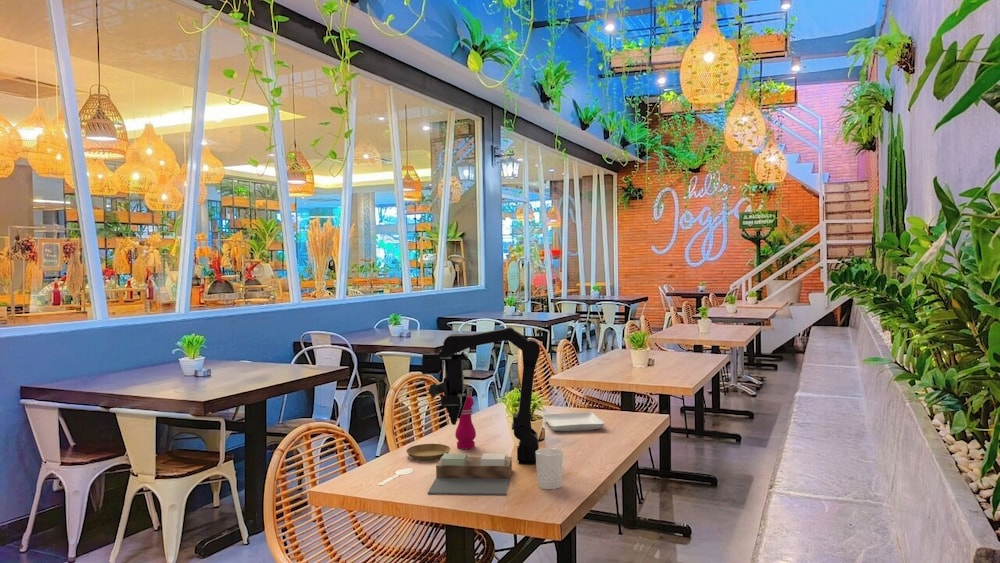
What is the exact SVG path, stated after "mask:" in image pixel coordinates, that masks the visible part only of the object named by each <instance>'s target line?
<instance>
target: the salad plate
mask: <svg viewBox="0 0 1000 563" xmlns="http://www.w3.org/2000/svg"><path fill="white" fill-rule="evenodd" d="M541 416H542V418H543V419H544V420H545V422H547V423H548V426H549V427H550V428H551V429H552V430H553V431H557V432H580V431H581V432H582V431H583V432H584V431H594V429H595V430H598V429H601V428H602V427H604V426H605V424H606V423H605V422H604V421H603V420H601V419H600V417H598V416H597V415H596V414H595V413H593V412H565V413H561V412H560V413H549V414H548V413H547V414H542V415H541Z"/></svg>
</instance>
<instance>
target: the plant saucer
mask: <svg viewBox="0 0 1000 563" xmlns="http://www.w3.org/2000/svg"><path fill="white" fill-rule="evenodd" d="M450 451H451V447H450V446H448V445H446V444H441V443H423V444H422V443H421V444H416V445H412V446H410V447H408V448H407V449H406V454H407V455H408V456H409V457H410V458H411V459H413V460H415V461H418V462H434V461H439V460H440V459H441V457H442V456H443V455H444V453H450Z"/></svg>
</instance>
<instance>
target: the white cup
mask: <svg viewBox="0 0 1000 563" xmlns="http://www.w3.org/2000/svg"><path fill="white" fill-rule="evenodd" d="M563 455H564V452H563V450H561V449H559V448H554V447H544V448H539V449H538V450H536V464H535V465H536V466H535V468H536V476H537V487H538V486H539V487H538V488H539V489H542V488H543V489H542V490H548V489H552V490H557V489H556V488H558V489H559V487H560V488H561V487H562V479H563V462H564V461H563V460H564V458H563V457H564V456H563Z"/></svg>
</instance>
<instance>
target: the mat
mask: <svg viewBox="0 0 1000 563" xmlns="http://www.w3.org/2000/svg"><path fill="white" fill-rule="evenodd" d="M509 484H510V480H509V479H485V478H436V477H435V479H434V480H433V482H432V484H431V486H430V488H429V489H428V492H427V495H448V496H449V495H455V496H456V495H458V496H459V495H460V496H461V495H463V496H467V495H468V496H506V495H507V493H506V492H507V491H508V488H509Z"/></svg>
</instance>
